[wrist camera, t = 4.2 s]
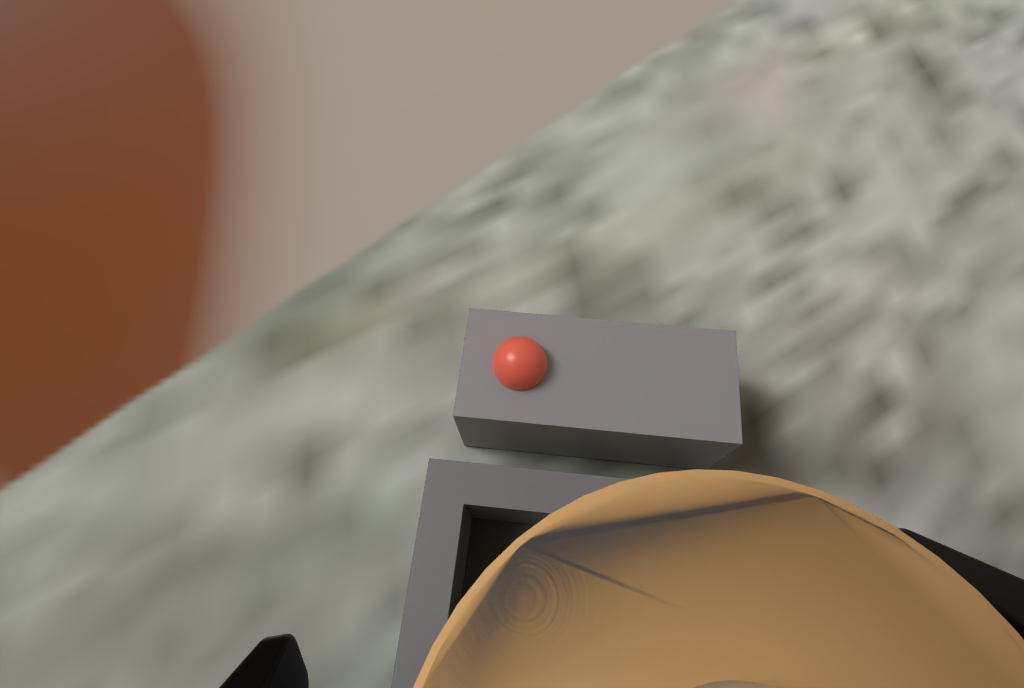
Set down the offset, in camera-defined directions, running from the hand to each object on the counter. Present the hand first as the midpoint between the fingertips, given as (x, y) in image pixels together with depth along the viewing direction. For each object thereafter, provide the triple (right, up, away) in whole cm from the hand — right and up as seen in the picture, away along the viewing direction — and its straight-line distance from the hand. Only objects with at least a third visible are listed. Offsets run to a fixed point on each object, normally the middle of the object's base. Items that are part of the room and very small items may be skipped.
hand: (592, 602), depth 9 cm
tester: (+1, -2, +7) cm, 7 cm away
